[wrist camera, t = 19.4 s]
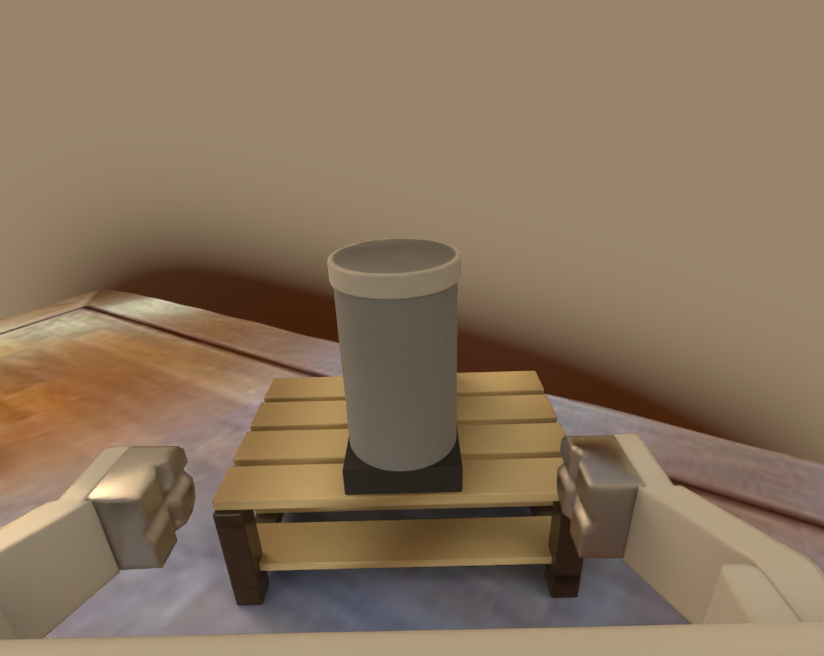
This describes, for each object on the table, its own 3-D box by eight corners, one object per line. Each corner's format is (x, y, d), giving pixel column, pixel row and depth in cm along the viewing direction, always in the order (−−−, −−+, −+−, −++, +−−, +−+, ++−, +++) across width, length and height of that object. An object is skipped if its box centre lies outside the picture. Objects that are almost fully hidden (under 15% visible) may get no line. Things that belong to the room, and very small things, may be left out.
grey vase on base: (464, 497, 23) (467, 273, 18) (342, 500, 23) (316, 277, 18) (447, 375, 33) (447, 212, 29) (364, 378, 33) (350, 215, 29)
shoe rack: (236, 605, 26) (209, 505, 23) (288, 457, 37) (274, 376, 34) (577, 597, 26) (594, 495, 23) (527, 450, 36) (534, 368, 34)
